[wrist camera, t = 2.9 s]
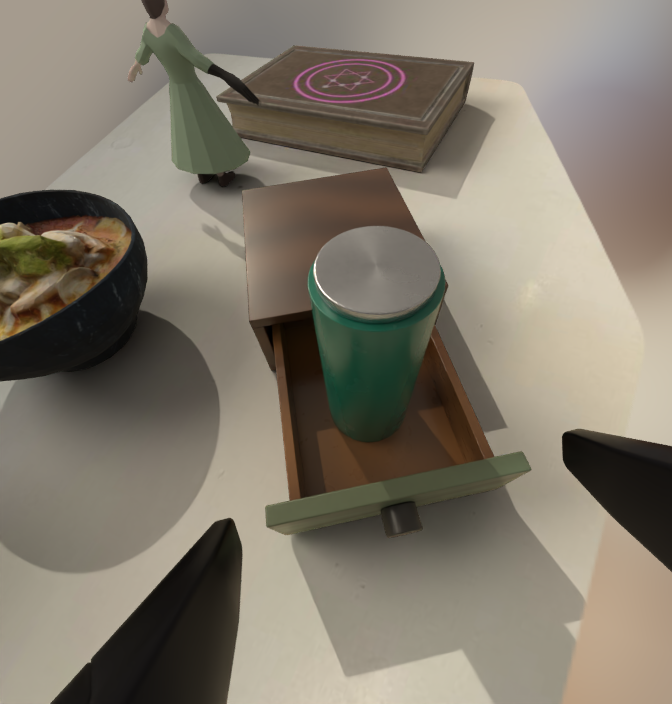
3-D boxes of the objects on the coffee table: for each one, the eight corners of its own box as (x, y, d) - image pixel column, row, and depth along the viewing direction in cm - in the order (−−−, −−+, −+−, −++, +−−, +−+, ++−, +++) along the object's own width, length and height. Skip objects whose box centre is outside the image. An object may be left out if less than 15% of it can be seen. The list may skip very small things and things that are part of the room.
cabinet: (430, 340, 28) (448, 285, 22) (271, 371, 27) (249, 321, 22) (382, 227, 36) (386, 167, 31) (259, 248, 36) (241, 190, 30)
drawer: (507, 513, 20) (547, 499, 16) (287, 562, 19) (268, 561, 15) (418, 307, 29) (428, 263, 25) (266, 335, 28) (251, 295, 24)
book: (227, 135, 50) (215, 96, 46) (299, 80, 61) (295, 44, 57) (421, 173, 42) (428, 129, 38) (465, 101, 52) (475, 60, 48)
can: (415, 386, 24) (463, 237, 13) (391, 455, 21) (426, 341, 10) (347, 362, 25) (339, 209, 14) (316, 424, 23) (279, 295, 12)
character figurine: (291, 169, 44) (257, -38, 29) (264, 205, 40) (209, -14, 25) (190, 156, 47) (113, -35, 32) (156, 187, 43) (49, -15, 28)
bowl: (21, 466, 24) (-161, 412, 15) (-33, 334, 31) (-176, 249, 23) (218, 329, 30) (164, 237, 21) (135, 245, 37) (70, 151, 29)
